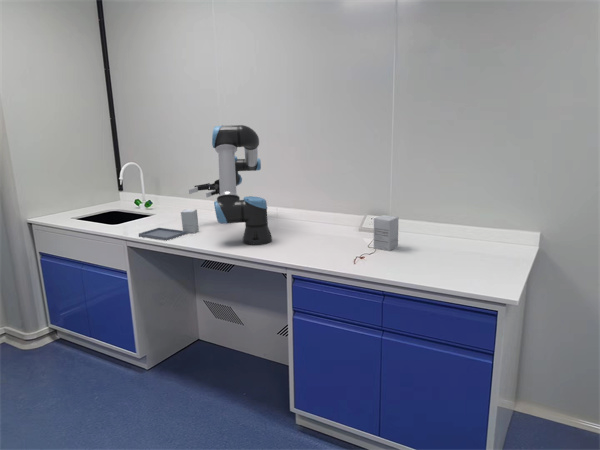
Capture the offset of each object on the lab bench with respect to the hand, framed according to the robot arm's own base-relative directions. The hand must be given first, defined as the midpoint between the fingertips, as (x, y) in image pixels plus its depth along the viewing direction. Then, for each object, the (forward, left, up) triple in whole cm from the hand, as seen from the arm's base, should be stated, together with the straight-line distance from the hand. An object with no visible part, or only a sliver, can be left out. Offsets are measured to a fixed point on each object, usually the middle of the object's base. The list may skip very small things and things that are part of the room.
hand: (197, 193), depth 246 cm
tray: (+6, +21, -22) cm, 31 cm away
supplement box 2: (-102, -41, -22) cm, 112 cm away
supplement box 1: (+1, +6, -22) cm, 23 cm away
